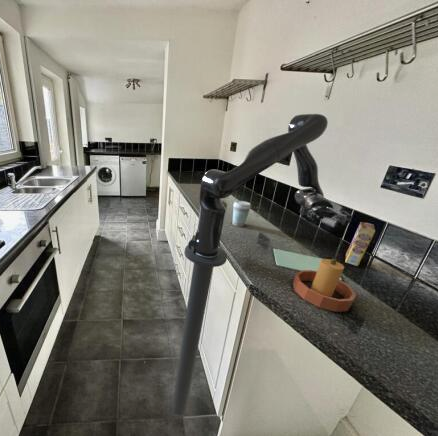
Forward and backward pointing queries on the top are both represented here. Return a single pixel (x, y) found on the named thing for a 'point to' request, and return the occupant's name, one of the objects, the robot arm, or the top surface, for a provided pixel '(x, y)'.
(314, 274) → the ring
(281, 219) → the top surface
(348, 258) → the candy box
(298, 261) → the towel
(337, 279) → the orange cylinder
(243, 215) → the coffee cup
